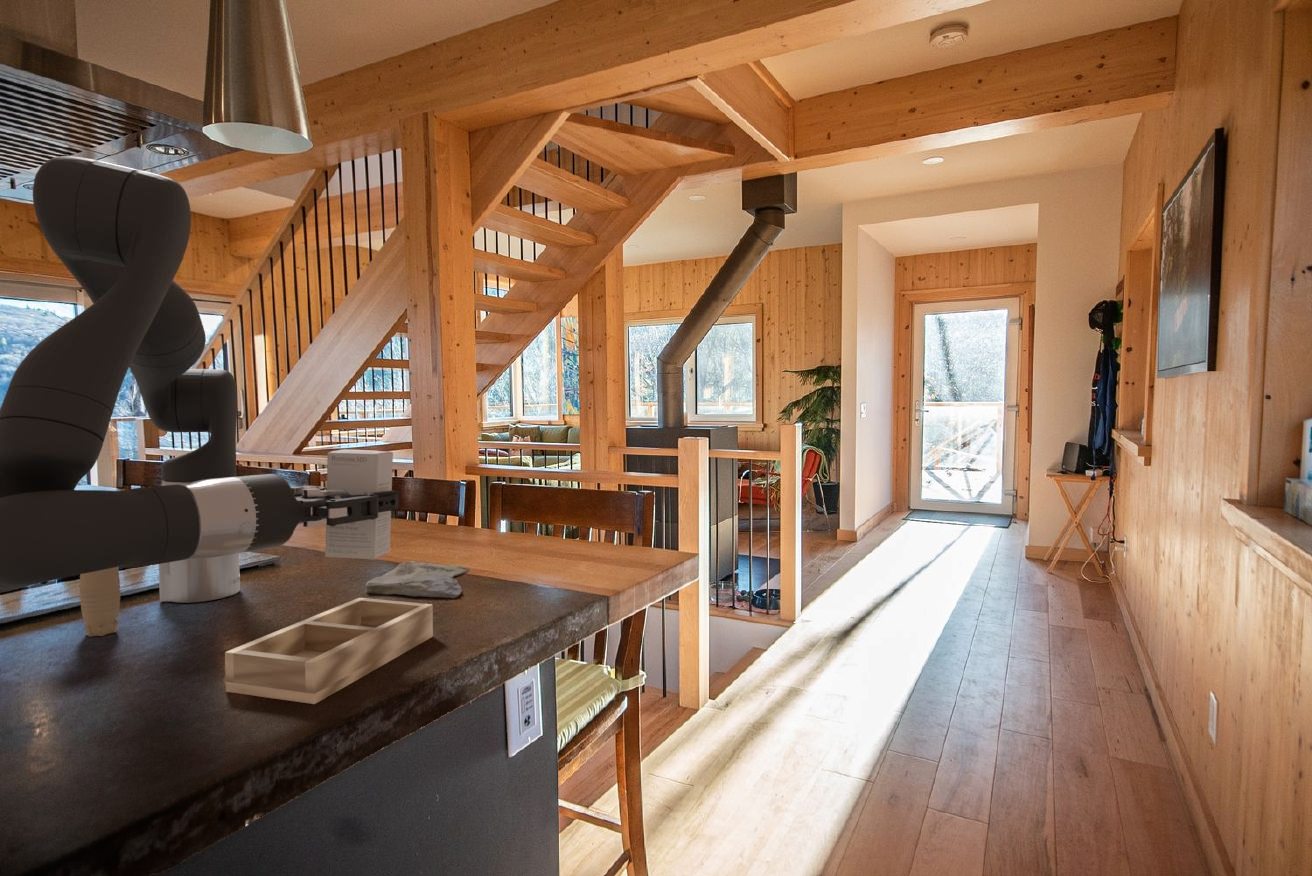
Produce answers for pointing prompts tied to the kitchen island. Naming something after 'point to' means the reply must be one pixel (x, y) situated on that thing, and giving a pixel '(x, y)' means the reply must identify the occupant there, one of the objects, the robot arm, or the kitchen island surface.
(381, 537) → the skincare box
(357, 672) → the tray
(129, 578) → the kitchen island surface
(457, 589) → the fossil rock
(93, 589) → the handle
